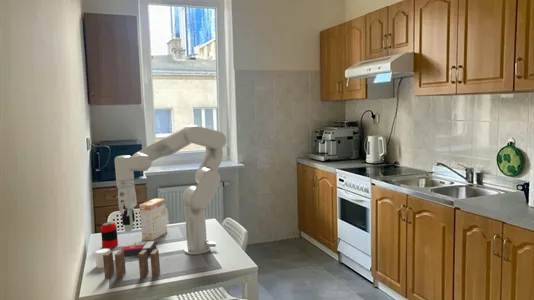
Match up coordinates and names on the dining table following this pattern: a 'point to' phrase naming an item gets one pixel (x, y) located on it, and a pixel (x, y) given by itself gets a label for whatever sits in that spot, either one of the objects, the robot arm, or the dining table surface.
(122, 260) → the domino
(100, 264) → the white short cylinder
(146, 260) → the domino
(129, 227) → the domino
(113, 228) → the soda can
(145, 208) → the coffeecake box
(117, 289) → the dining table surface
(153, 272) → the domino
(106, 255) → the domino
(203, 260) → the dining table surface
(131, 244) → the black and red box
